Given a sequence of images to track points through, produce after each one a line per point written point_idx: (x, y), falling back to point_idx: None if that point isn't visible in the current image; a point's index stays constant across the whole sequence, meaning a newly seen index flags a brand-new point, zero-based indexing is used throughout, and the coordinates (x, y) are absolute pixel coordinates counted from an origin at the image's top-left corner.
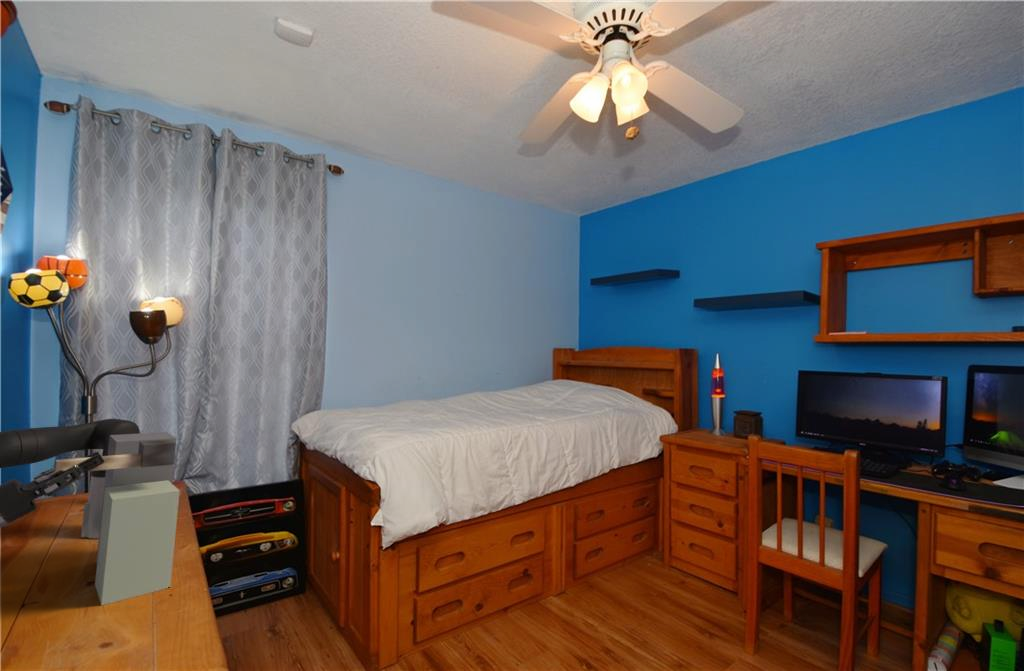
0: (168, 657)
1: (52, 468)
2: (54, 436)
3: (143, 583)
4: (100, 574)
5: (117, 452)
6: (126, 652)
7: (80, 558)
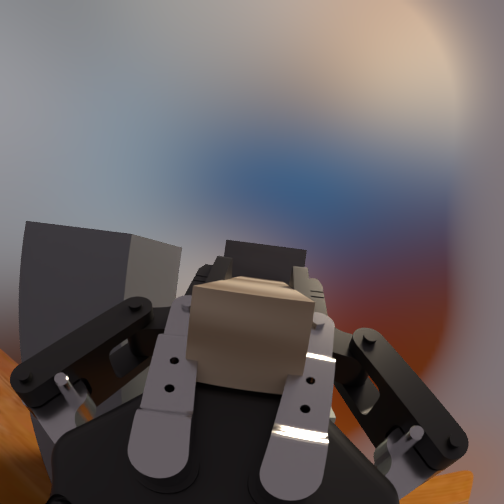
0: (463, 494)
1: (54, 343)
2: None
3: None
4: None
5: (129, 271)
6: None
7: (15, 477)
